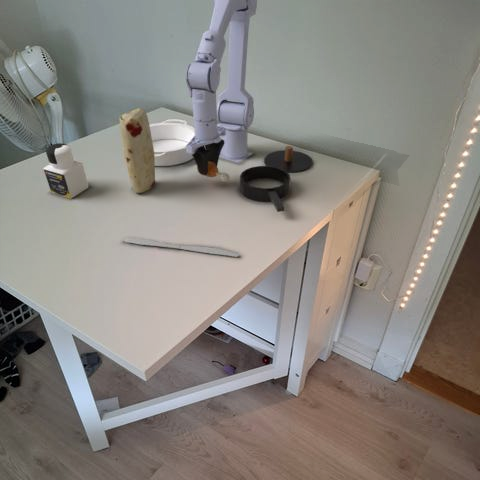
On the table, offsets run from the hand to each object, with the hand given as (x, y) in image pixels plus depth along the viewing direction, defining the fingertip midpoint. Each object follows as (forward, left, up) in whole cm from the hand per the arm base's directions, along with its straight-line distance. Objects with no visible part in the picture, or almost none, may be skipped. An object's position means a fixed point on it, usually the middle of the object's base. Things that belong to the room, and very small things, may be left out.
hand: (208, 170), depth 116 cm
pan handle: (+22, -2, -2) cm, 22 cm away
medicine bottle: (-30, -22, -5) cm, 38 cm away
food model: (-14, -10, -5) cm, 18 cm away
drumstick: (+2, 0, -1) cm, 2 cm away
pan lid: (+12, +24, -4) cm, 27 cm away
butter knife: (+12, -27, -5) cm, 30 cm away
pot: (-24, +11, -5) cm, 27 cm away
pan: (+14, +6, -4) cm, 16 cm away
